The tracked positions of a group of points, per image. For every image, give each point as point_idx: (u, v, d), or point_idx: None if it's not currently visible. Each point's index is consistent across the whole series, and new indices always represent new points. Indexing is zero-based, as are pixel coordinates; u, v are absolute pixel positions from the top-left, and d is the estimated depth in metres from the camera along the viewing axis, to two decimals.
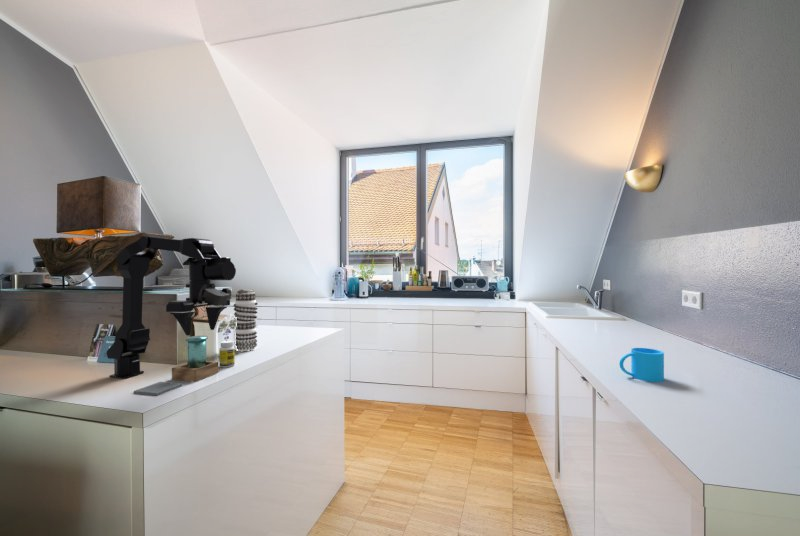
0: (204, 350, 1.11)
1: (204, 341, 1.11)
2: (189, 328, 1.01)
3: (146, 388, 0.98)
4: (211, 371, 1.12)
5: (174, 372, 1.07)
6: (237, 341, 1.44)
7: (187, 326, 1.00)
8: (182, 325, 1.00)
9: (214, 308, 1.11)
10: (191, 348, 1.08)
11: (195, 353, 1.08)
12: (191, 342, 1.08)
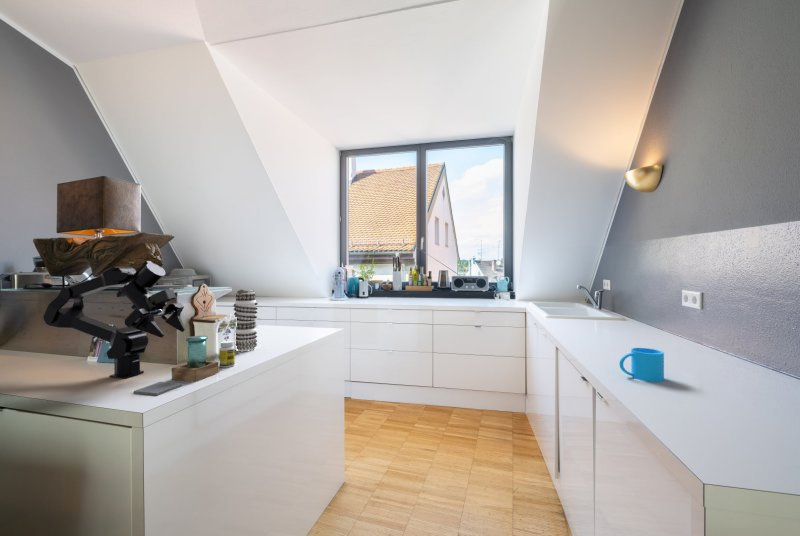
0: (204, 350, 1.11)
1: (204, 341, 1.11)
2: (159, 329, 1.06)
3: (146, 388, 0.98)
4: (211, 371, 1.12)
5: (174, 372, 1.07)
6: (237, 341, 1.44)
7: (156, 328, 1.06)
8: (151, 332, 1.06)
9: (172, 315, 1.17)
10: (191, 348, 1.08)
11: (195, 353, 1.08)
12: (191, 342, 1.08)
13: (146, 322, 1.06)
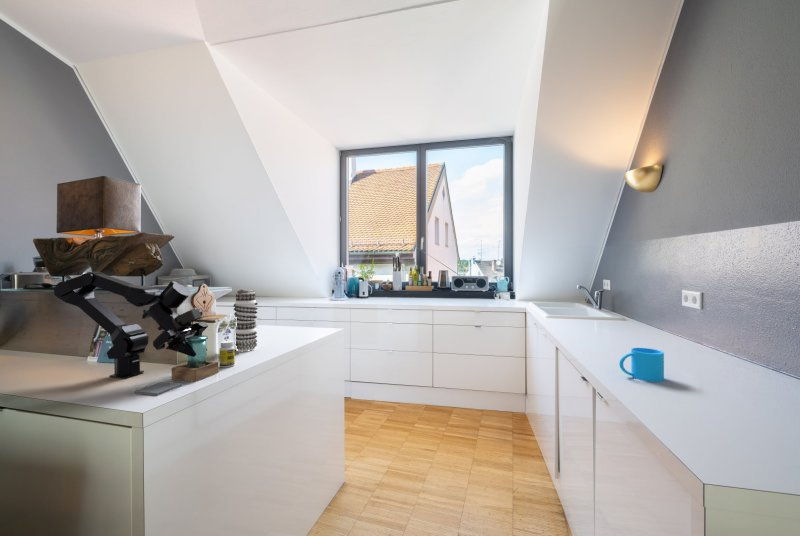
0: (204, 350, 1.11)
1: (204, 341, 1.11)
2: (191, 349, 1.08)
3: (146, 388, 0.98)
4: (211, 371, 1.12)
5: (174, 372, 1.07)
6: (237, 341, 1.44)
7: (188, 348, 1.07)
8: (183, 351, 1.07)
9: (194, 335, 1.14)
10: None
11: None
12: (191, 342, 1.08)
13: (178, 342, 1.07)
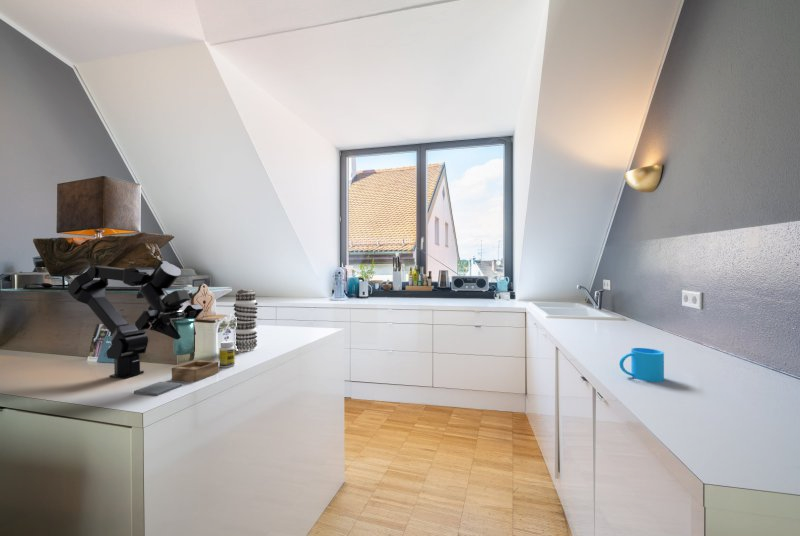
0: (190, 333, 1.05)
1: (190, 324, 1.05)
2: (174, 331, 1.03)
3: (146, 388, 0.98)
4: (211, 371, 1.12)
5: (174, 372, 1.07)
6: (237, 341, 1.44)
7: (171, 330, 1.02)
8: (167, 333, 1.02)
9: None
10: (176, 330, 1.03)
11: (180, 336, 1.03)
12: (176, 324, 1.03)
13: (163, 323, 1.03)
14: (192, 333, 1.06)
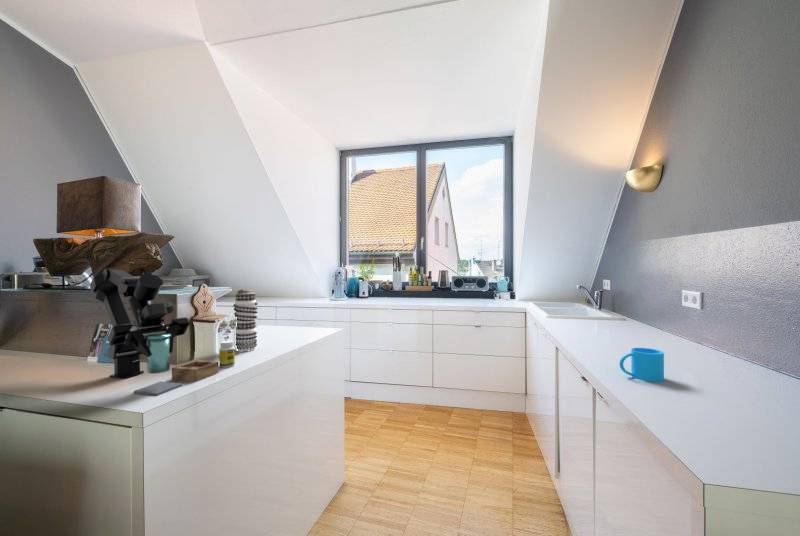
0: (162, 350, 0.97)
1: (162, 340, 0.97)
2: (145, 348, 0.96)
3: (146, 388, 0.98)
4: (211, 371, 1.12)
5: (174, 372, 1.07)
6: (237, 341, 1.44)
7: (142, 347, 0.96)
8: (139, 349, 0.97)
9: (166, 332, 1.03)
10: (148, 347, 0.97)
11: (150, 353, 0.96)
12: (148, 340, 0.97)
13: (137, 339, 0.97)
14: (165, 350, 0.98)
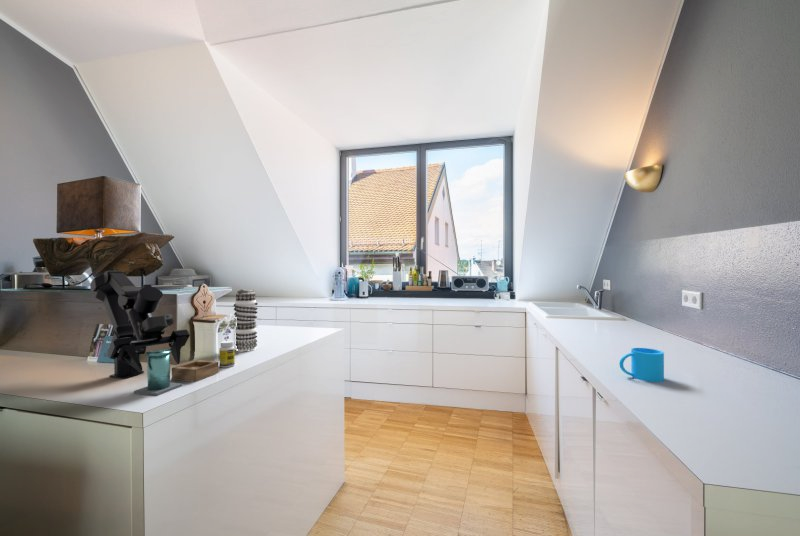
0: (162, 367, 0.97)
1: (162, 357, 0.97)
2: (138, 362, 0.94)
3: (146, 388, 0.98)
4: (211, 371, 1.12)
5: (174, 372, 1.07)
6: (237, 341, 1.44)
7: (134, 361, 0.94)
8: (132, 364, 0.95)
9: (173, 343, 1.05)
10: (148, 364, 0.97)
11: (151, 370, 0.96)
12: (148, 357, 0.97)
13: None
14: (165, 367, 0.98)
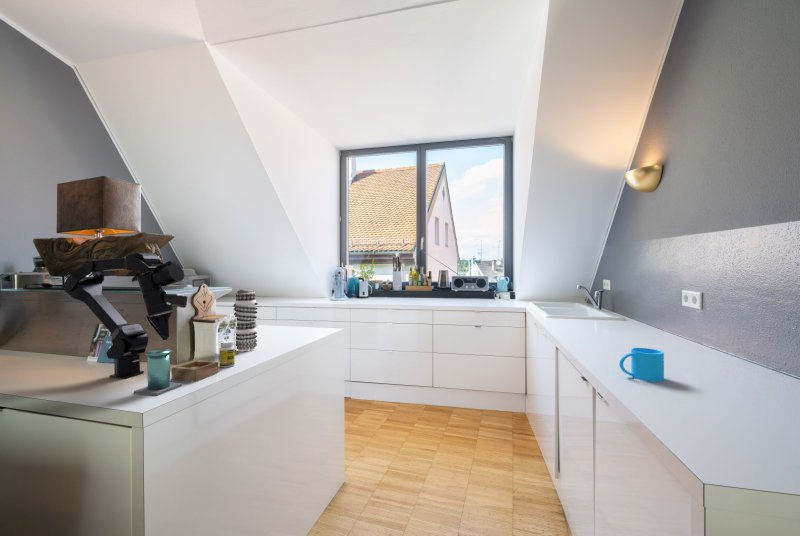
0: (162, 367, 0.97)
1: (162, 357, 0.97)
2: (168, 330, 1.07)
3: (146, 388, 0.98)
4: (211, 371, 1.12)
5: (174, 372, 1.07)
6: (237, 341, 1.44)
7: (167, 328, 1.06)
8: (160, 328, 1.05)
9: None
10: (148, 364, 0.97)
11: (151, 370, 0.96)
12: (148, 357, 0.97)
13: (161, 317, 1.06)
14: (165, 367, 0.98)
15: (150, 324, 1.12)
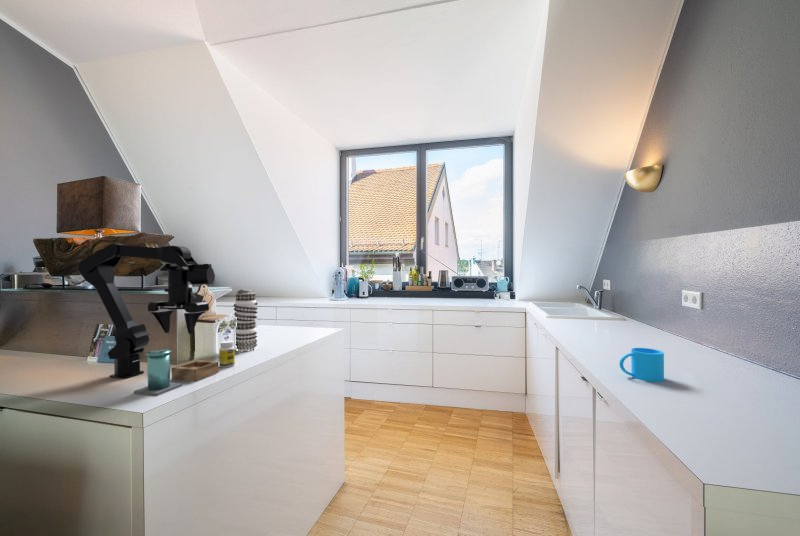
0: (162, 367, 0.97)
1: (162, 357, 0.97)
2: None
3: (146, 388, 0.98)
4: (211, 371, 1.12)
5: (174, 372, 1.07)
6: (237, 341, 1.44)
7: (194, 325, 1.13)
8: (190, 324, 1.11)
9: (166, 312, 1.15)
10: (148, 364, 0.97)
11: (151, 370, 0.96)
12: (148, 357, 0.97)
13: (193, 314, 1.12)
14: (165, 367, 0.98)
15: (158, 315, 1.12)
